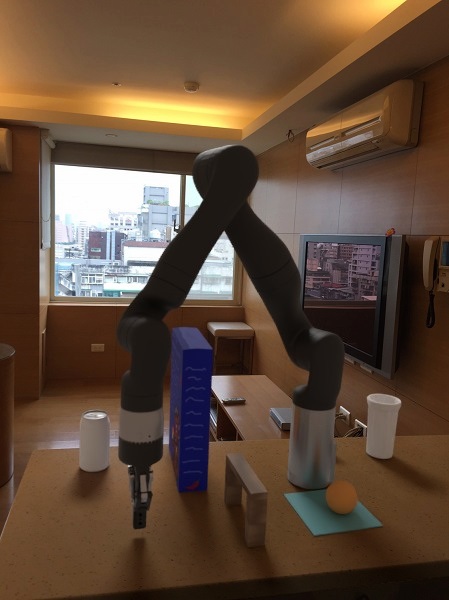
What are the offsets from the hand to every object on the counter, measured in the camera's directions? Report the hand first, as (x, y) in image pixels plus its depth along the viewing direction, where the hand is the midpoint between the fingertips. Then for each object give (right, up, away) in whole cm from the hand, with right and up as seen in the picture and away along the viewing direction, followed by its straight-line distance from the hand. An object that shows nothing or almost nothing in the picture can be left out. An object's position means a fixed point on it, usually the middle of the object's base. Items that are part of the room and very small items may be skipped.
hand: (139, 526), depth 84 cm
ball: (+37, +1, +10) cm, 39 cm away
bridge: (+18, -2, +5) cm, 19 cm away
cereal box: (+6, +1, +26) cm, 26 cm away
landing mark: (+36, -2, +10) cm, 37 cm away
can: (-14, +2, +24) cm, 28 cm away
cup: (+53, +1, +36) cm, 64 cm away
